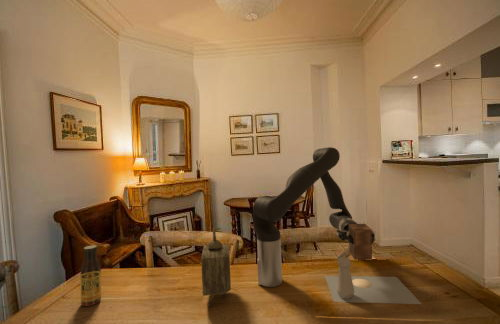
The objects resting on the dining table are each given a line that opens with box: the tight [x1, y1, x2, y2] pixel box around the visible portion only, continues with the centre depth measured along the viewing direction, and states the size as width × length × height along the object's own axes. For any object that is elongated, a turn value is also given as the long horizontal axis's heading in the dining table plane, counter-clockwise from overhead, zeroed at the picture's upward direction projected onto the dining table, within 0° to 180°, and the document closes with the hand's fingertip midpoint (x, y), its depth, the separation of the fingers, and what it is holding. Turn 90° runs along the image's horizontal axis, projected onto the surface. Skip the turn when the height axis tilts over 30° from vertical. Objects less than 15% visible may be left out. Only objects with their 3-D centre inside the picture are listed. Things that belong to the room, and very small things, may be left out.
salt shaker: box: [336, 256, 354, 300], centre depth 87 cm, size 6×6×13 cm
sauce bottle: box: [79, 244, 102, 307], centre depth 90 cm, size 7×6×20 cm
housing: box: [348, 223, 373, 260], centre depth 94 cm, size 6×7×11 cm
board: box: [324, 275, 422, 305], centre depth 91 cm, size 27×18×1 cm, turn 83°
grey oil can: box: [201, 226, 232, 308], centre depth 90 cm, size 14×9×25 cm, turn 5°
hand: (362, 241), depth 92 cm, fingers closed on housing, 6 cm apart
